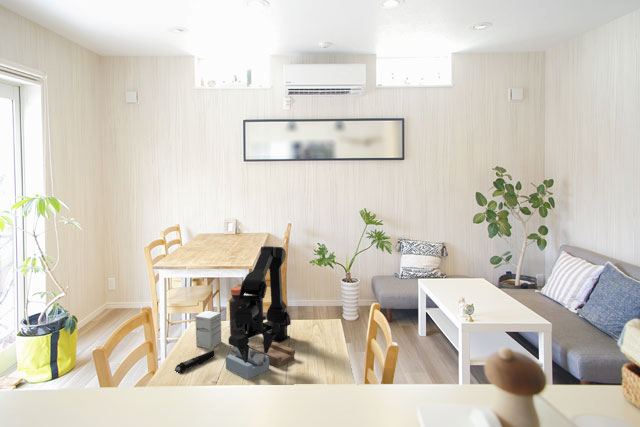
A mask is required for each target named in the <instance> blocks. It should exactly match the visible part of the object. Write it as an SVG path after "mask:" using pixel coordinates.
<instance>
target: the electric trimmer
mask: <svg viewBox="0 0 640 427" xmlns="http://www.w3.org/2000/svg"><path fill="white" fill-rule="evenodd" d="M214 357H215V350H214V349H212V350H210V351H208V352H206V353H203V354H200V355H197V356H195V357H193V358H190V359H188V360H186V361H180V362H179V364H178V363H177V365H176V366H175V368H174V372H175V371H176V373H177V372H178V373H177V374H179V373H180V374H183V373H184V372H185V371H187V370H188V369H191V368H193V367H195V366H197V365H202V364H204V363H206V362H207V361H209V360H211V359H212V358H214Z"/></svg>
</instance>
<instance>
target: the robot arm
mask: <svg viewBox="0 0 640 427" xmlns="http://www.w3.org/2000/svg"><path fill="white" fill-rule="evenodd" d="M286 252H287V251H286V249H285V248H284V247H283V246H267V245H266V246H265V245H264V246H261V248H260V254H259V256H258V258H257V260H256V263H255V264H254V267H253V269H252V271H250V272H249V273H247V274H246V276H245V277H244V279H243V280H242V283H241V286H240V287H241V290H240V295H239V300H240V301H243V302H242V303H241V307H240V308H239V309H238V310H237V311H236V314H235V318H236V319H235V320H232V329H233V330H235V329H237V331H239V330H242V329H243V332H246V334H245V335H243V334H240V333H236V334H234V335H229V337H228V345H231V346H232V347H233V346H234V347H237V348H238V350H239V351H240V354H241V356H242V358H243V361H244V362H245V363H247V360H248V353H249V346H250V345H249V343H250V339H253V338H255V337H258V336H260V335H262V338H263V339H262V340H263V341H264V352H265V353H267V352H268V350H269V348H270V346H271V344H272V342H276V343H281V342H283V341H285V340H288V339H290V338H291V336H290V335H288V327H289V326H291V324H292V322H291V316H290V313H289V311H288V306H287V305H286V303H285V301H284V300H283V283H282V277H283V276H282V266H283V264H284V263H285V261H286V256H287V253H286ZM268 271H269V283H270V284H269V285H270V299H271V300H270V301H271V304H270V305H269V307H268V308H267V311H266V315H264V299H265V297H266V292H267V288H268V285H267V280H266V276H267V274H268ZM265 320H266V321H265ZM264 321H265V322H264Z"/></svg>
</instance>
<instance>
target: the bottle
mask: <svg viewBox="0 0 640 427" xmlns="http://www.w3.org/2000/svg"><path fill="white" fill-rule="evenodd" d="M240 290H241V286H235V287H232V288H231V289H230V294H231V298H230V299H229V300H228V303H229V304H228V306H229V309H228V310H229V331H230V332H229V334H230V335H229V336H231V335H234V334H236V333H240V334H243V335H245V334H247V332H243V329H242V330H239V331H237V329H235V330H233V329H232V320H235V319H236V318H235V314H236V311H237V310H238V309H239V308H240V307H241V303H242V302H243V301H240V300H239V295H240Z"/></svg>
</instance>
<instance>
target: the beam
mask: <svg viewBox="0 0 640 427" xmlns="http://www.w3.org/2000/svg"><path fill="white" fill-rule="evenodd" d="M249 348H250V349H252V350H255V351H257V352H259V353H262V354H264V355H266V356H269V365H271V366H273V367H275V368H276V367H277V368H280V367H283V366H285V365H287V364H289V363H291V362H292V361H295V355H296V349H293V348H292V347H288V346H286V345H283V344H280V343H279V342H276V341H273V342H272V344H271V346H270V348H269V350H268V352H267V353H265V352H264V341H263V339H262V340H261V344H259V345H257V346H256V345H254V344H250V345H249Z"/></svg>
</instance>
